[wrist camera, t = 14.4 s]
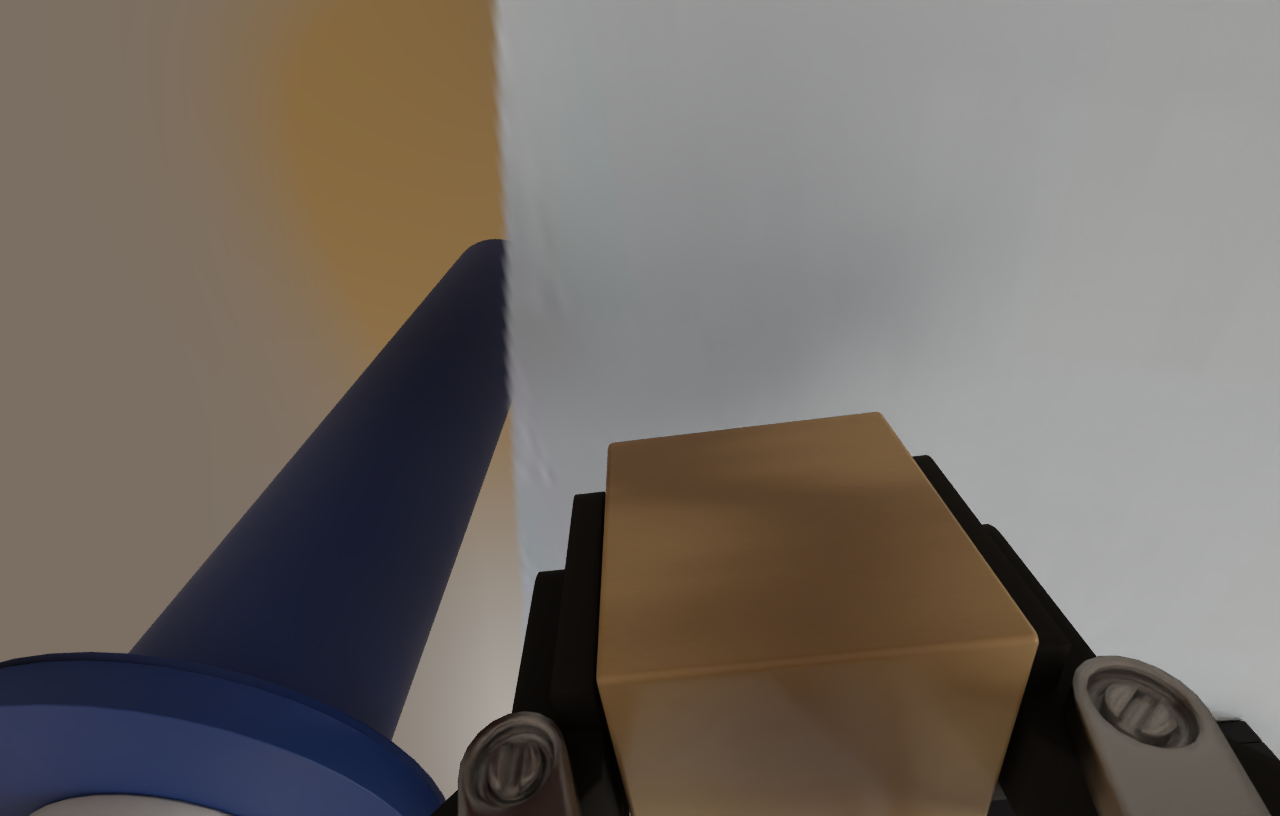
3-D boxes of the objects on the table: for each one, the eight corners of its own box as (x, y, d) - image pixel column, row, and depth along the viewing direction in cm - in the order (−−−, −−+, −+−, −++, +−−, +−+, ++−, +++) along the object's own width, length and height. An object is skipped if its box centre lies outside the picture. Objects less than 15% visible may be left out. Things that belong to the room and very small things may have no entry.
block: (641, 625, 13) (647, 886, 9) (607, 440, 10) (594, 681, 6) (865, 602, 12) (977, 861, 8) (880, 409, 10) (1044, 637, 6)
